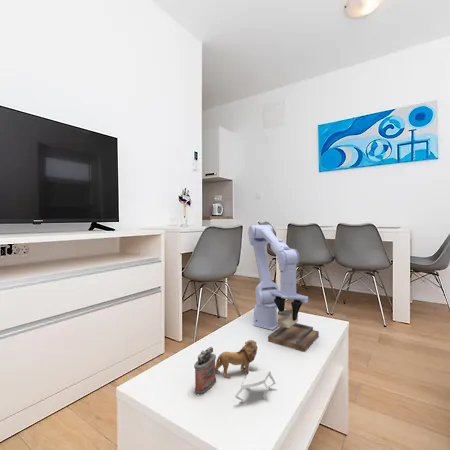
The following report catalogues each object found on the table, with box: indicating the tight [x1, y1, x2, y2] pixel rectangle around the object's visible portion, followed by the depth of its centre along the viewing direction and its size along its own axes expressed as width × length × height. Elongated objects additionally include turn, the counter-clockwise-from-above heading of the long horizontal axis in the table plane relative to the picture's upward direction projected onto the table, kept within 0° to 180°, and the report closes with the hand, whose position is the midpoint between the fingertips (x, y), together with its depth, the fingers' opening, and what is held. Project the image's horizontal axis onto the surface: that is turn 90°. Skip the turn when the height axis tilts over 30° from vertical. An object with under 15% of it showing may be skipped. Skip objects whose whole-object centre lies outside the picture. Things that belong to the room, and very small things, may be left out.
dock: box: [267, 322, 319, 353], centre depth 105 cm, size 14×15×3 cm
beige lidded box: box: [277, 308, 299, 329], centre depth 101 cm, size 4×8×6 cm, turn 142°
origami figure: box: [234, 370, 277, 404], centre depth 72 cm, size 12×8×5 cm
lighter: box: [193, 346, 217, 396], centre depth 76 cm, size 8×3×10 cm, turn 148°
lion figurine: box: [215, 339, 258, 379], centre depth 82 cm, size 15×5×9 cm, turn 111°
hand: (288, 318), depth 102 cm, fingers closed on beige lidded box, 4 cm apart
